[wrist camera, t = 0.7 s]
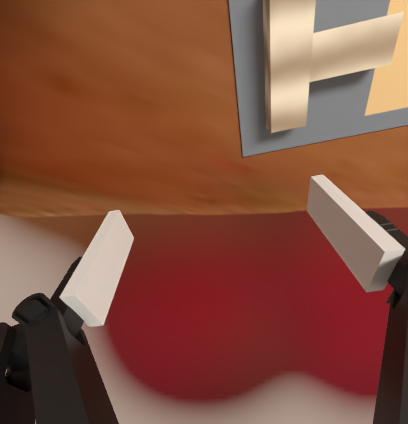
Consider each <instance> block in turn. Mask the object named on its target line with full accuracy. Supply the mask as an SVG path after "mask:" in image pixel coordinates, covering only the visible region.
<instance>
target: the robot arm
mask: <svg viewBox="0 0 408 424" xmlns="http://www.w3.org/2000/svg"><path fill="white" fill-rule="evenodd" d="M307 212H308V213H309V214H310V216H311V217H312V219H313V220H314V221H315V223H316V224H317V225H318V227H319V228H320V229H321V231H322V232H323V234H324V235H325V236H326V238H327V239H328V240H329V241H330V243H331V244H332V246H333V247H334V249H335V250H336V251H337V253H338V254H339V255H340V257H341V258H342V259H343V261H344V262H345V264H346V265H347V266H348V268H349V269H350V270H351V272H352V273H353V274H354V276H355V277H356V279H357V280H358V281H359V283H360V284H361V285H362V287H363V288H364V289H365V291H366V292H370V291H379V290H384V288H385V286H386V284H387V282H388V283H389V284H390V285H391V286H392V287H393V288H394V290H393V292H392V293H391V295H390V297H389V298H388V300H387V303H390V308H389V315H388V322H387V329H386V336H385V343H384V350H383V357H382V364H381V370H380V378H379V385H378V391H377V398H376V405H375V413H374V419H373V424H408V237H407V236H406V235H405V234H404V233H403V232H402V231H400V230H398V228H397V227H395V226H394V225H393V224H391V222H390V221H388V220H387V219H386V218H385V217H383V216H382V215H380V214H378V213H376V212H373V211H368V212H364V211H363V210H362V209H361V208H359V207H358V206H357V205H356V204H355V203H354V202H353V201H352V200H351V199H350V198H348V197H347V196H346V195H345V194H344V193H343V192H342V191H341V190H340V189H338V188H337V187H336V186H335V185H334V184H333V183H332V182H331V181H330V180H328V179H327V178H326V177H325V176H324V175H318V176H312V177H311V180H310V188H309V196H308V204H307ZM133 240H134V237H133V235H132V233H131V231H130V230H129V228H128V226H127V224H126V222H125V220H124V218H123V216H122V214H121V212H120V210H116V211H110V212H109V213H108V214H107V216H106V218H105V219H104V221H103V223H102V225H101V227H100V228H99V230H98V232H97V233H96V235H95V237H94V239H93V240H92V242H91V244H90V245H89V247H88V249H87V251H86V252H85V254H84V256H83V257H79V258H78V259H77V260H76V261H75V262H74V263H73V264H72V265H71V267H70V268H69V270H68V271H67V274H66V275H65V276H64V278H63V280H62V281H61V283H60V284H59V286H58V288H57V289H56V291H55V293H54V294H53V296H52V297H51V299H49V298H47V297H46V296H45V295H44V294H42V293H36V294H33V295H31V296H29V297H27V298H26V299H24V300H23V301H22V302H21V303H20V304H19V305H18V306H17V307H16V308H15V310H14V312H13V314H12V318H13V319H15V320H16V321H18V322H19V324H17V325H14V326H12V327H11V326H9V325H8V324H7V323H0V424H35V419H36V424H119V423H118V421H117V418H116V415H115V412H114V410H113V407H112V404H111V402H110V399H109V397H108V394H107V391H106V389H105V386H104V383H103V381H102V378H101V375H100V373H99V370H98V368H97V365H96V362H95V359H94V357H93V354H92V352H91V349H90V346H89V344H88V341H87V338H86V336H85V333H84V331H83V330H82V329H81V327H82V324H83V322H85V323H86V324H87V325H88V326H89V327H93V326H101V325H104V322H105V319H106V316H107V313H108V310H109V308H110V305H111V302H112V299H113V296H114V294H115V291H116V288H117V285H118V282H119V279H120V277H121V273H122V271H123V268H124V265H125V262H126V259H127V257H128V254H129V251H130V248H131V245H132V242H133ZM6 370H7V373H6ZM5 373H6V376H5Z"/></svg>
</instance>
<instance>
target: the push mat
mask: <svg viewBox="0 0 408 424" xmlns="http://www.w3.org/2000/svg"><path fill="white" fill-rule="evenodd" d="M229 11H230V22H231V33H232V44H233V55H234V66H235V77H236V88H237V98H238V109H239V120H240V131H241V142H242V153H243V157H245V156H250V155H255V154H260V153H266V152H271V151H276V150H281V149H286V148H291V147H296V146H302V145H307V144H312V143H317V142H322V141H327V140H333V139H338V138H343V137H348V136H353V135H358V134H364V133H369V132H374V131H379V130H384V129H389V128H395V127H400V126H405V125H408V0H316V5H315V18H314V31H313V33H316V32H320V31H325V30H329V29H333V28H337V27H341V26H345V25H350V24H354V23H358V22H362V21H366V20H371V19H375V18H379V17H383V16H387V15H391V14H396V13H400V12H404V14H403V18H402V22H401V26H400V30H399V34H398V38H397V42H396V46H395V50H394V54H393V58H392V61H391V64H390V65H386V66H381V67H377V68H372V69H368V70H363V71H359V72H354V73H349V74H345V75H340V76H336V77H331V78H327V79H322V80H317V81H313V82H309V95H308V108H307V121H306V126H303V127H298V128H293V129H288V130H283V131H278V132H273V133H271V132H270V131H269V130H268V129H266V111H265V71H264V32H263V0H229Z"/></svg>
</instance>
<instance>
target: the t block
mask: <svg viewBox="0 0 408 424" xmlns="http://www.w3.org/2000/svg"><path fill="white" fill-rule="evenodd" d="M315 5H316V0H263V32H264V71H265V111H266V129H268V130H269V131H270V132H271V133H273V132H278V131H283V130H288V129H293V128H298V127H303V126H306V121H307V108H308V95H309V82H313V81H317V80H322V79H327V78H331V77H336V76H340V75H345V74H349V73H354V72H359V71H363V70H368V69H372V68H377V67H381V66H386V65H390V64H391V61H392V58H393V54H394V50H395V46H396V42H397V38H398V34H399V30H400V26H401V22H402V18H403V14H404V12H400V13H396V14H391V15H387V16H383V17H379V18H375V19H371V20H366V21H362V22H358V23H354V24H350V25H345V26H341V27H337V28H333V29H329V30H325V31H320V32H316V33H313V31H314V18H315Z"/></svg>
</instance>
